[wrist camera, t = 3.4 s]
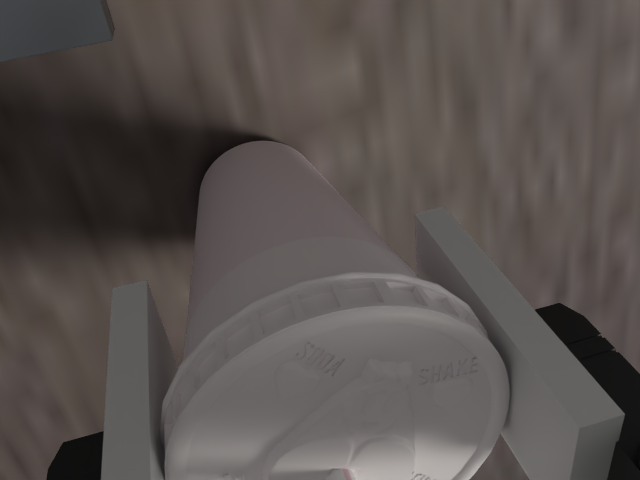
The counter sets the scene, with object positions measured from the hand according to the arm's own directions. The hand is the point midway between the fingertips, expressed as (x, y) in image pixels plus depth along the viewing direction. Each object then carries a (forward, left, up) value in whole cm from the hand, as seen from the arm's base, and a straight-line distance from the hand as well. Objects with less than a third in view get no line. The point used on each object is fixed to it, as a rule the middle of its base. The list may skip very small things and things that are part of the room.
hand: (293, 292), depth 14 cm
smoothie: (0, 0, -5) cm, 5 cm away
